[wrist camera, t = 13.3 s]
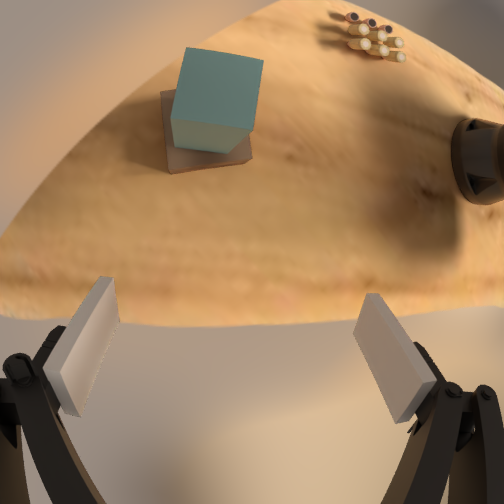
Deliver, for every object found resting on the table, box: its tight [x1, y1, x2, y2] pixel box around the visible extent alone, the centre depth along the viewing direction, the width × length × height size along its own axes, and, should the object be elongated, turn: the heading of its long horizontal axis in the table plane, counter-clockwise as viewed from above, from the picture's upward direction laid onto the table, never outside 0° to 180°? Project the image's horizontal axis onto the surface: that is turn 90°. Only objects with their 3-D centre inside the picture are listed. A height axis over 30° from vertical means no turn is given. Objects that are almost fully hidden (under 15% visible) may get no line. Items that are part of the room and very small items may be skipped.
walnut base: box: [160, 89, 252, 174], centre depth 30 cm, size 8×8×5 cm
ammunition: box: [345, 12, 406, 63], centre depth 32 cm, size 5×7×8 cm
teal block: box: [170, 48, 264, 154], centre depth 22 cm, size 5×5×11 cm
